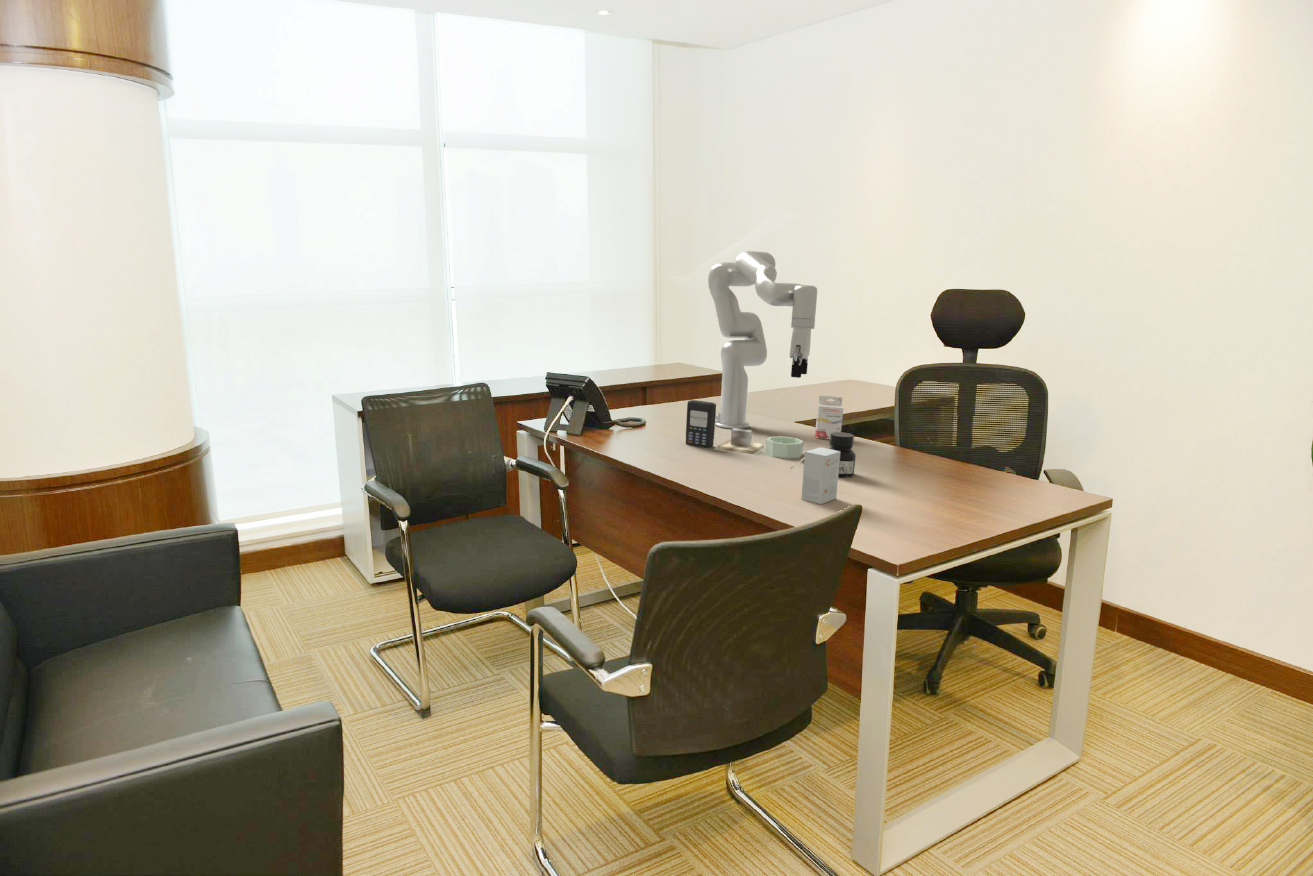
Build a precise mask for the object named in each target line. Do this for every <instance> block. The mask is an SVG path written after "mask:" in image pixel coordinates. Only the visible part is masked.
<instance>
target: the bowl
mask: <svg viewBox="0 0 1313 876" xmlns="http://www.w3.org/2000/svg"><path fill="white" fill-rule="evenodd" d="M765 447H766V448H765V449H764V450H765V452H764V453H765V454H766V455H768V456H770V457H772V458H773V457H774V458H779V459H800V457H803V453H804V440H801V439H799V438H797V437H790V436H784V435H783V436H780V435H779V436H769V437H768V438H766V439H765Z"/></svg>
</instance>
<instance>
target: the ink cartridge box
mask: <svg viewBox="0 0 1313 876" xmlns="http://www.w3.org/2000/svg"><path fill="white" fill-rule="evenodd" d="M818 398H819V399H818V404H817V411H816V423H815V431H814V432H815V434H814V435H815V438H816V437H818V438H830V434H831V433H833V432H842V424H843V415H844V406H843V405H842V404H843V402H842V401H843V397H841V396H832V395H819V397H818ZM831 400H833V401H831ZM818 438H817V439H818Z"/></svg>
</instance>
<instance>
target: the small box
mask: <svg viewBox="0 0 1313 876" xmlns="http://www.w3.org/2000/svg"><path fill="white" fill-rule="evenodd" d="M839 463H840V451H836V450H832V449H829V448H826V447H817V448H814V449H809V450H807V451H804V459H803V471H802V472H803V474H802V484H801V485H802V487H801V500H802V501H807V502H811V503H814V504H817V505H818V504H819V505H823V504H826V503H828V502H831V501H833V500H836V499H837V493H838V482H839V477H838V474H839Z"/></svg>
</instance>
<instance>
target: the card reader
mask: <svg viewBox="0 0 1313 876" xmlns="http://www.w3.org/2000/svg"><path fill="white" fill-rule="evenodd" d="M716 413H717V404H716V403H715V402H713V401H712V402H711V401H704V400H696V399H692V400H688V401H687V407H686V426H685V445H688V446H694V447H698V448H699V447H700V448H705V449H707V448H709V449H711V448H713V447H714V441H715V429H716V428H715V427H716V425H715V422H716V418H715V416H716Z"/></svg>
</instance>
